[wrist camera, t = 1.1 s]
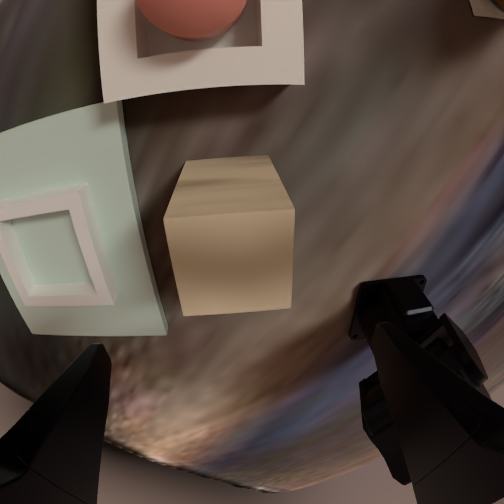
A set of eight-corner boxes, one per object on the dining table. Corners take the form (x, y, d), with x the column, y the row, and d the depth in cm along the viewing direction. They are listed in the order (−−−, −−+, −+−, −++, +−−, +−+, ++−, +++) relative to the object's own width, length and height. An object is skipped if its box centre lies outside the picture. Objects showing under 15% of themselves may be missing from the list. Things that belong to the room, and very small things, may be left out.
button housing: (292, 82, 16) (304, 84, 14) (121, 98, 16) (103, 103, 13) (285, -62, 11) (295, -81, 9) (115, -45, 11) (99, -60, 8)
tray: (168, 326, 25) (164, 348, 23) (35, 326, 25) (26, 345, 23) (121, 98, 16) (107, 102, 14) (-33, 146, 15) (-53, 157, 13)
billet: (269, 227, 21) (290, 308, 15) (195, 233, 21) (183, 316, 14) (268, 155, 19) (294, 209, 12) (185, 161, 18) (163, 218, 12)
